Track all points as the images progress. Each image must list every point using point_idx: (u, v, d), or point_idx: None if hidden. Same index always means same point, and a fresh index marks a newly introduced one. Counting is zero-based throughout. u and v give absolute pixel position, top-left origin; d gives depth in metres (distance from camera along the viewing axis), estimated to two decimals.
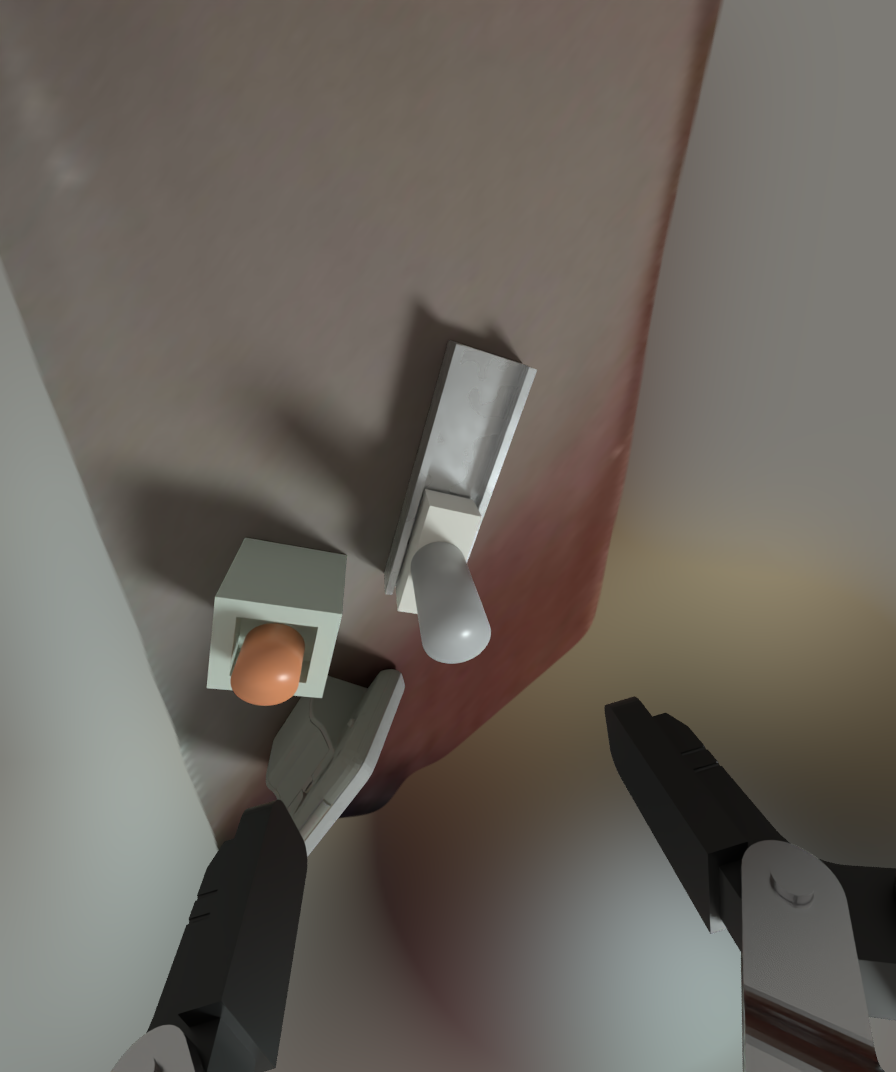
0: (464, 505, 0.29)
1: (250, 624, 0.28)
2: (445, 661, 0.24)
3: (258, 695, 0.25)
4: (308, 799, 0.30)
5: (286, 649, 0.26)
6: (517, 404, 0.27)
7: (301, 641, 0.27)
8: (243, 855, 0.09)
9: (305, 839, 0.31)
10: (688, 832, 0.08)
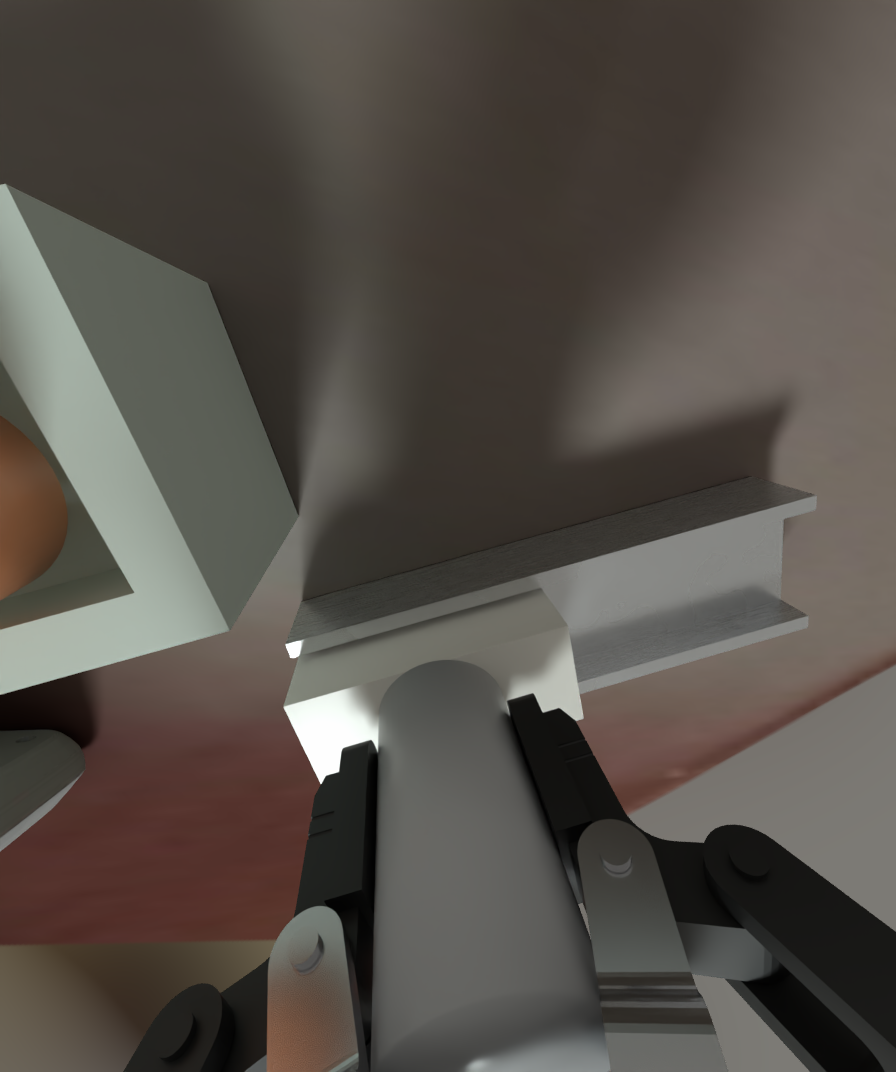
0: None
1: None
2: None
3: None
4: None
5: None
6: (750, 634, 0.16)
7: (39, 570, 0.08)
8: (351, 782, 0.10)
9: None
10: (548, 813, 0.08)
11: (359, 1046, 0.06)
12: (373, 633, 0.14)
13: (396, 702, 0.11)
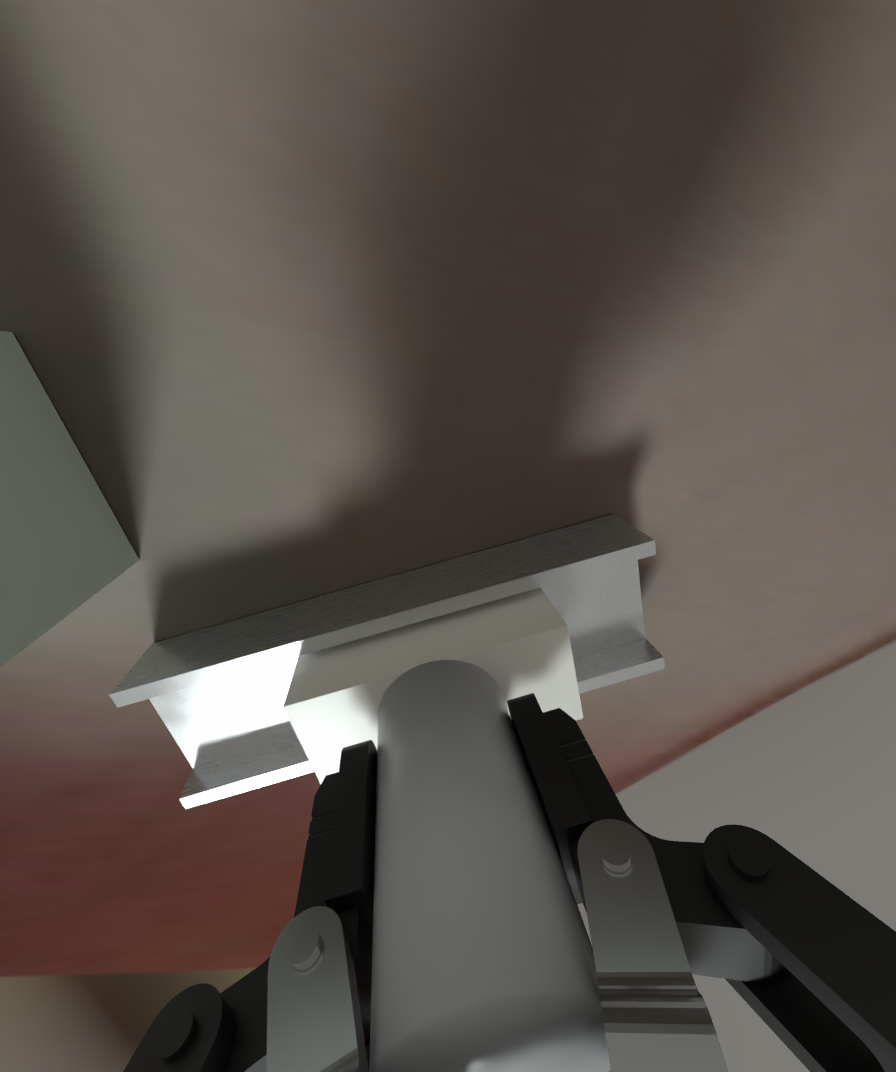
0: None
1: None
2: None
3: None
4: None
5: None
6: (604, 676, 0.15)
7: None
8: (351, 782, 0.10)
9: None
10: (548, 813, 0.08)
11: (359, 1046, 0.06)
12: (201, 682, 0.13)
13: (395, 702, 0.11)
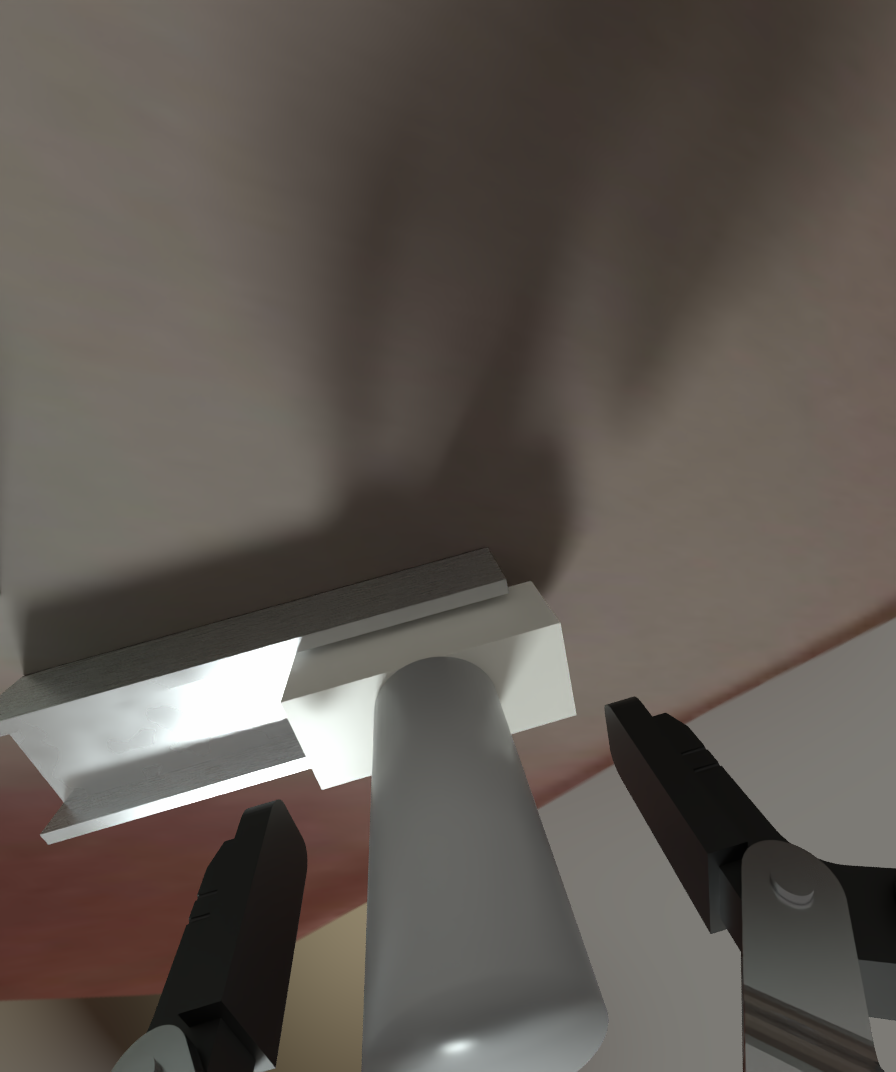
0: None
1: None
2: None
3: None
4: None
5: None
6: None
7: None
8: (243, 855, 0.09)
9: None
10: (688, 832, 0.08)
11: None
12: (48, 721, 0.13)
13: (391, 698, 0.12)
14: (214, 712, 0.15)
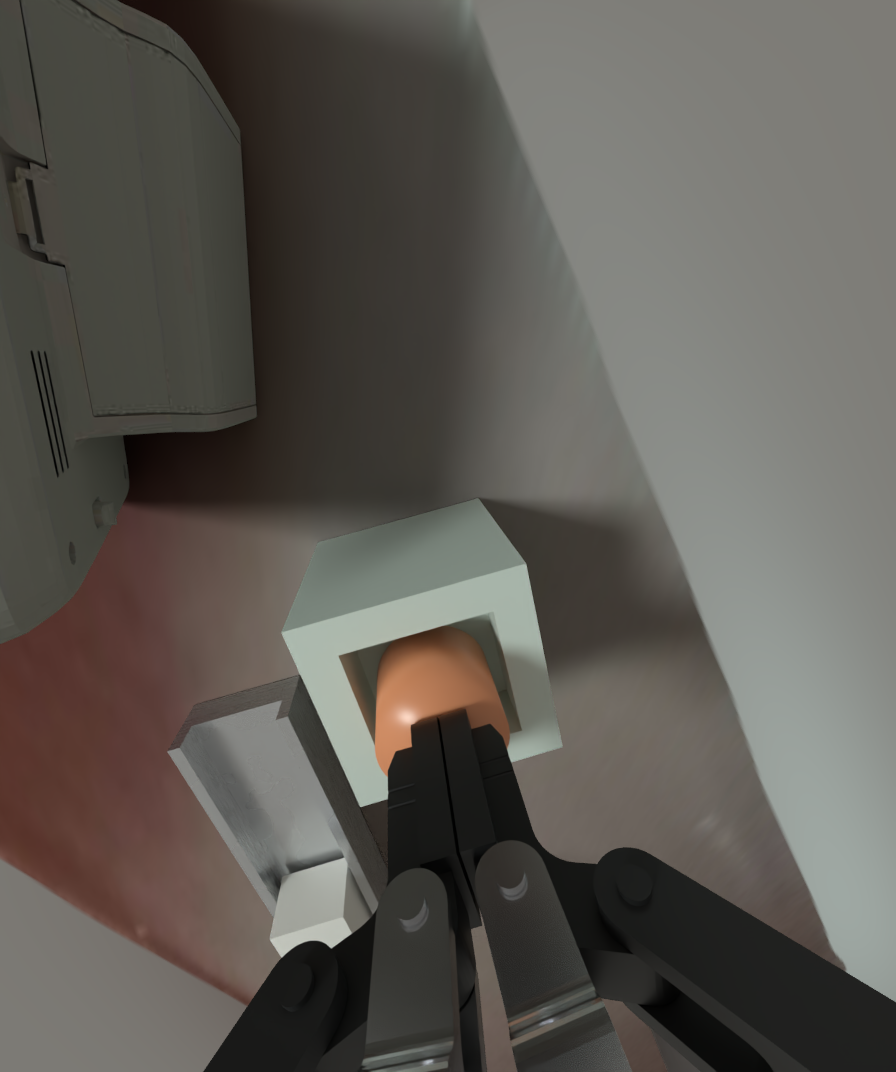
0: None
1: None
2: None
3: (442, 712, 0.12)
4: (6, 347, 0.07)
5: None
6: None
7: None
8: (426, 756, 0.10)
9: None
10: None
11: (455, 1024, 0.06)
12: (299, 765, 0.19)
13: None
14: (288, 812, 0.22)
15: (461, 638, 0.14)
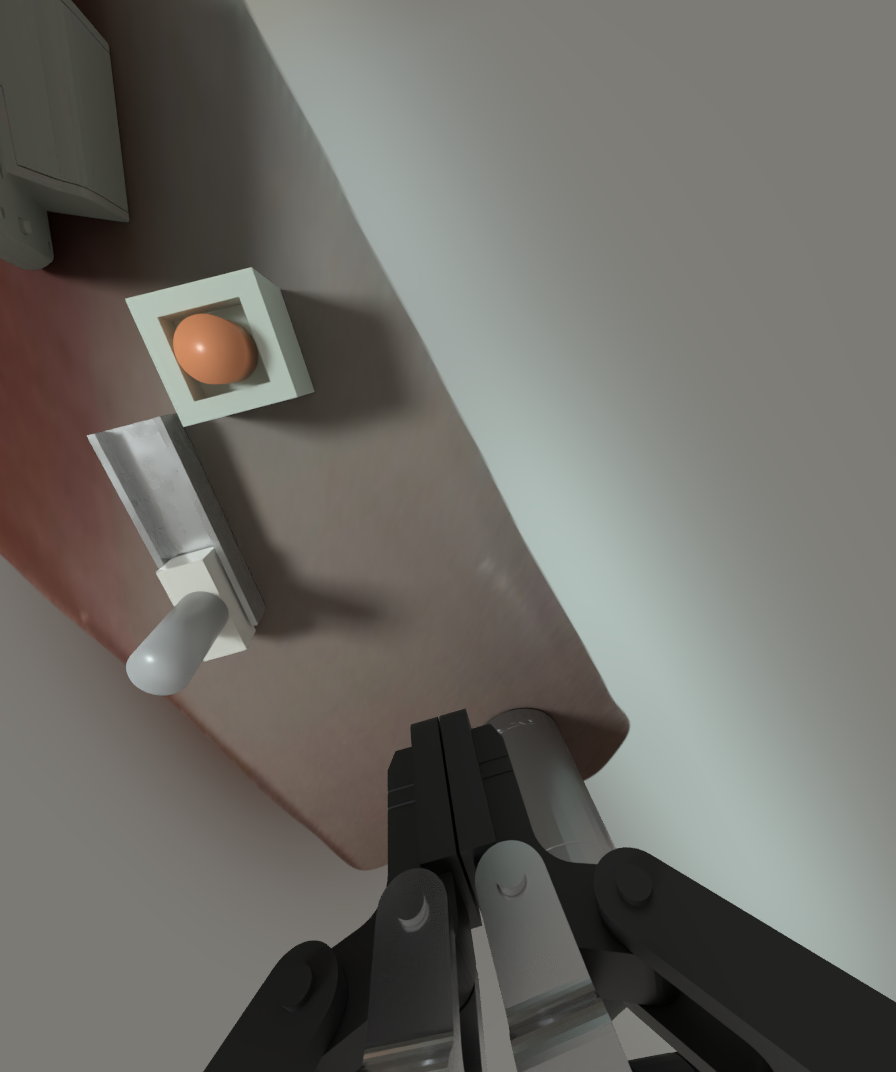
0: None
1: (257, 348, 0.28)
2: (146, 645, 0.27)
3: (204, 329, 0.24)
4: None
5: None
6: None
7: None
8: (426, 756, 0.10)
9: None
10: None
11: (455, 1024, 0.06)
12: (170, 455, 0.31)
13: (213, 602, 0.33)
14: (172, 507, 0.34)
15: (234, 322, 0.26)
